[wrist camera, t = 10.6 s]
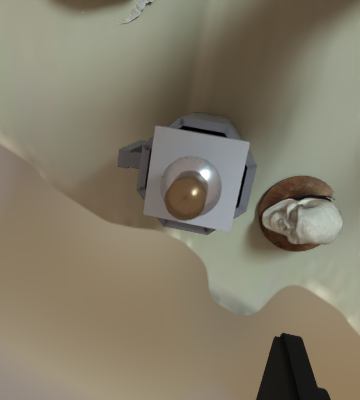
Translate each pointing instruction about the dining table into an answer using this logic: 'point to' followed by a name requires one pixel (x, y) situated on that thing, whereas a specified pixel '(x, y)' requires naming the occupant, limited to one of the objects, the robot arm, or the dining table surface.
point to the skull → (300, 214)
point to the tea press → (201, 147)
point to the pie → (136, 11)
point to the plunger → (191, 185)
